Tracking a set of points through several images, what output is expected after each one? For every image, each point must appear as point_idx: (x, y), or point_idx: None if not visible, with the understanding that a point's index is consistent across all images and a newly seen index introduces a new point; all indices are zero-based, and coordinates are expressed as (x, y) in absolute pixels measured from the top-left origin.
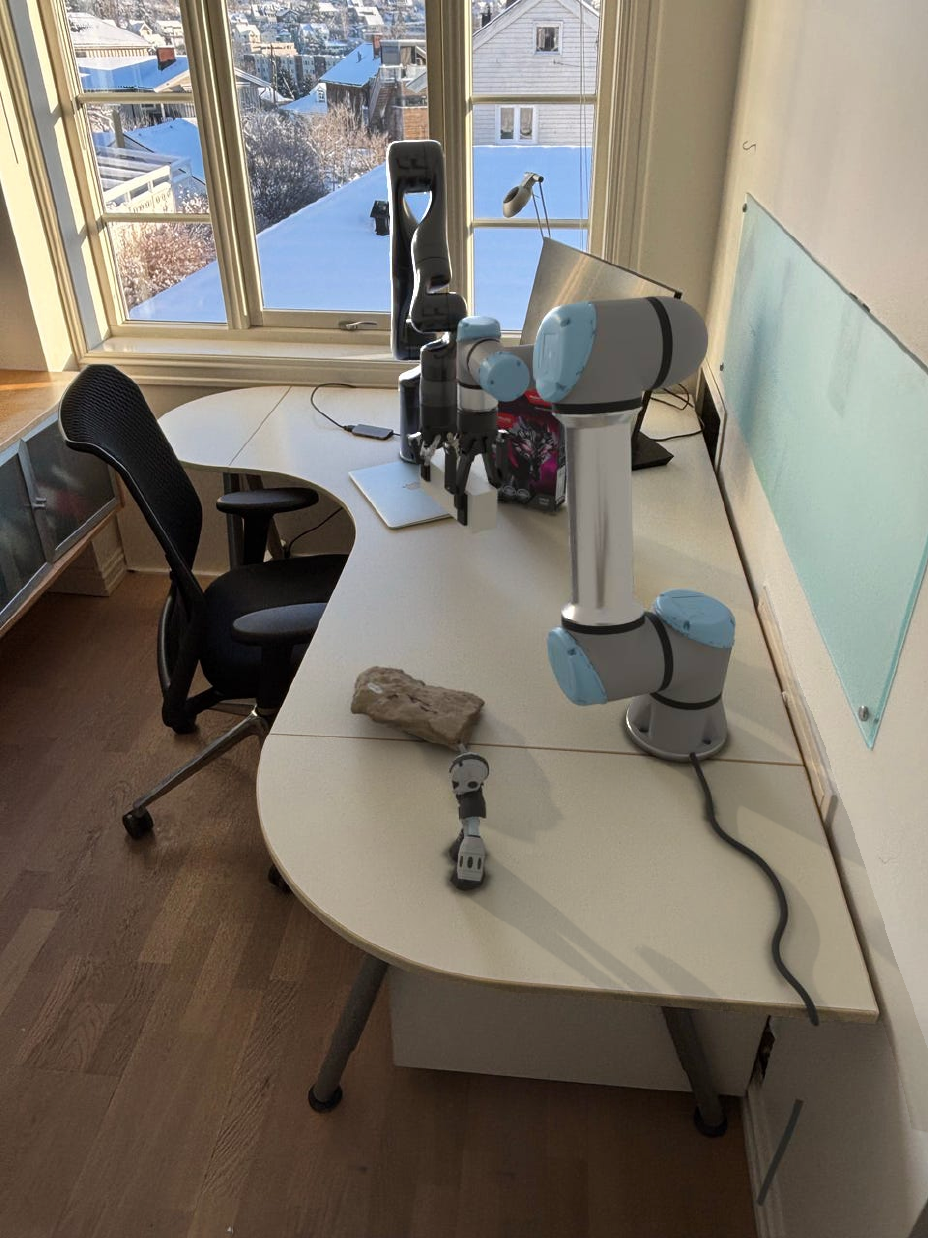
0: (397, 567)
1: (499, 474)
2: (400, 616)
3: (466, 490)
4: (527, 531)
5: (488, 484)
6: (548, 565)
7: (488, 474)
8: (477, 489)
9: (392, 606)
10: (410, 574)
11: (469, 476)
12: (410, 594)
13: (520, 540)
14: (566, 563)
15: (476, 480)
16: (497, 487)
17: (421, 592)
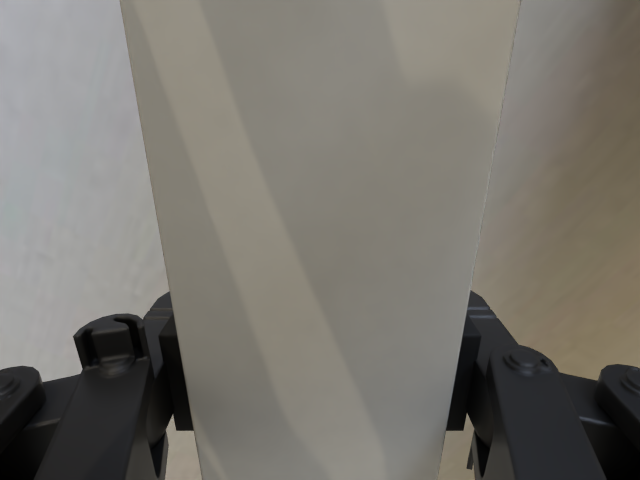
0: (64, 93)
1: (617, 452)
2: (20, 331)
3: (196, 440)
4: (609, 92)
5: (427, 438)
6: (494, 305)
7: (496, 469)
8: (288, 469)
9: (6, 285)
10: (97, 158)
11: (370, 227)
12: (69, 257)
13: (539, 139)
14: (542, 318)
15: (379, 341)
16: (472, 460)
17: (102, 263)
